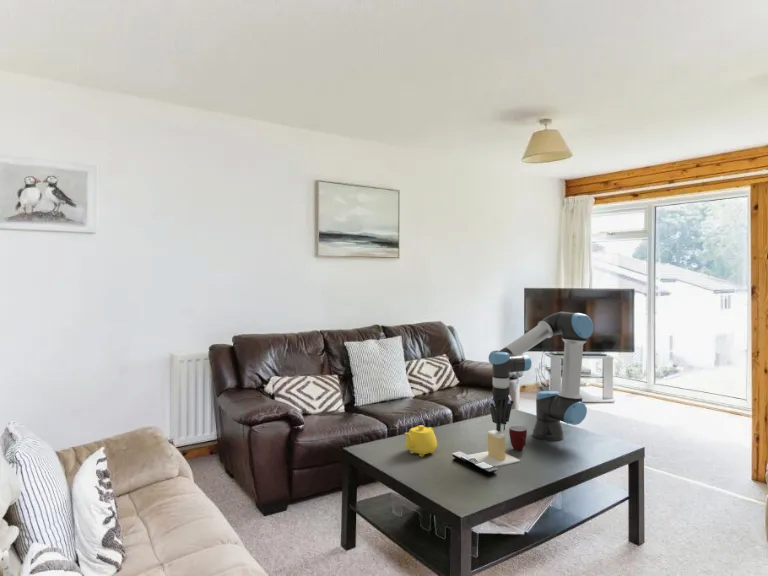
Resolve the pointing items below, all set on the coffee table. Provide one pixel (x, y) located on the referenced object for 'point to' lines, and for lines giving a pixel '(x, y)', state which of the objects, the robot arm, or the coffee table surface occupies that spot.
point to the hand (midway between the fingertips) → (500, 437)
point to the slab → (496, 445)
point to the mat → (492, 461)
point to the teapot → (421, 440)
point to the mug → (518, 437)
